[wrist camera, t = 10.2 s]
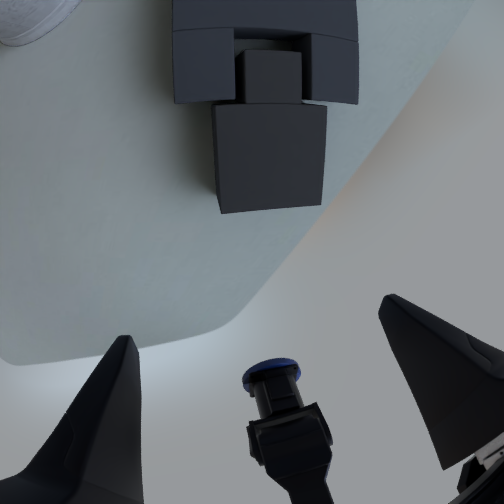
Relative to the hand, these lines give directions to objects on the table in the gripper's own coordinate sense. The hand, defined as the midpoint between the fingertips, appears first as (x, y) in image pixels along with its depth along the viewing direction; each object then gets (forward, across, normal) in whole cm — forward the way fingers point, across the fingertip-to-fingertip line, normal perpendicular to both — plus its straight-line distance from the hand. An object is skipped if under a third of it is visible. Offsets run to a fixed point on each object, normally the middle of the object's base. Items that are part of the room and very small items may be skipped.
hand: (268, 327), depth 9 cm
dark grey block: (+11, -2, -13) cm, 17 cm away
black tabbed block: (+11, -2, -5) cm, 12 cm away
